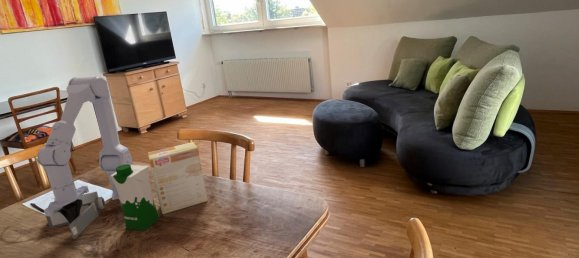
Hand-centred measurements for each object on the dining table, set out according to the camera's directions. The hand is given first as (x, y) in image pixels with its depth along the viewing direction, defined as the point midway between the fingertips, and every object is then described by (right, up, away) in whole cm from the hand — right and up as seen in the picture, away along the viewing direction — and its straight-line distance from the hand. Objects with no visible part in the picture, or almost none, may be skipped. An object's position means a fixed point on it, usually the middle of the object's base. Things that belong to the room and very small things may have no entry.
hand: (75, 224), depth 112 cm
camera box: (-5, 0, +9) cm, 11 cm away
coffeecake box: (+30, +4, +11) cm, 32 cm away
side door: (+3, -1, +2) cm, 3 cm away
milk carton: (+20, 0, +2) cm, 20 cm away
